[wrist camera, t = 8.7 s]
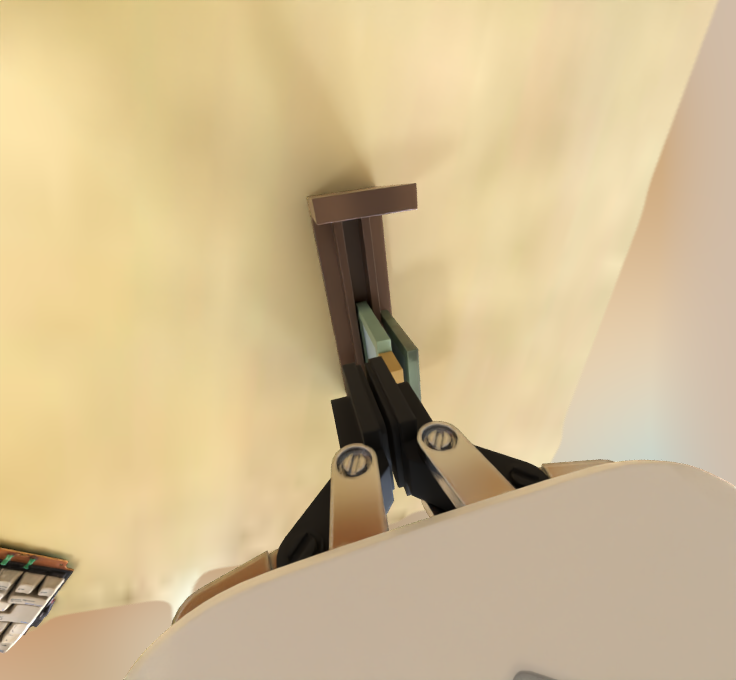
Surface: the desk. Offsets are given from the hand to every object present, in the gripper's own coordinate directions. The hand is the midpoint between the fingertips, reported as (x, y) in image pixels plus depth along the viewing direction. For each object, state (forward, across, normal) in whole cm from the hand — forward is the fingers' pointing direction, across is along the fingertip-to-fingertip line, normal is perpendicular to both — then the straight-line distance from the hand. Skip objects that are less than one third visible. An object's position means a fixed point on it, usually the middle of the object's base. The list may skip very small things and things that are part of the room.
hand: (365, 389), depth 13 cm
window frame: (+22, -4, +5) cm, 23 cm away
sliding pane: (+21, -4, +9) cm, 23 cm away
